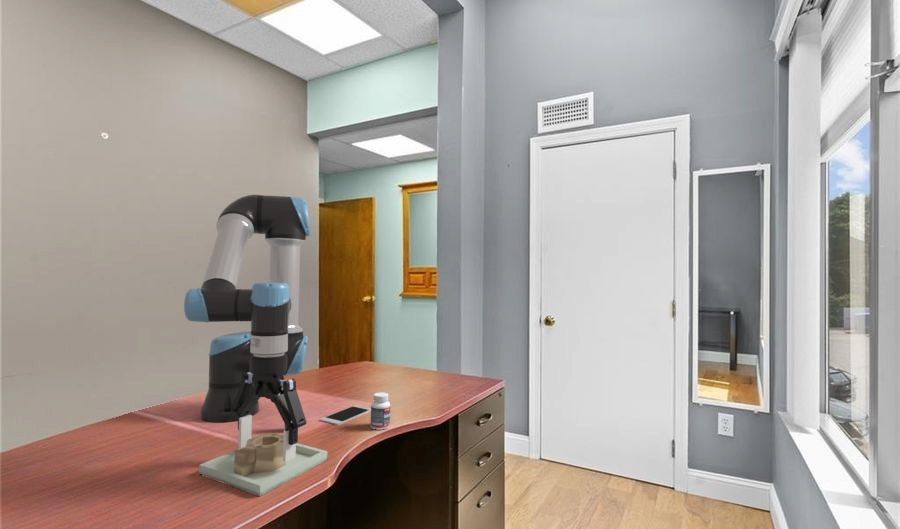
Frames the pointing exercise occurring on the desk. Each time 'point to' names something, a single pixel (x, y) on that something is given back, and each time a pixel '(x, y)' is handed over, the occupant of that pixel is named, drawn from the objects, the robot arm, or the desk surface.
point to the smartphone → (345, 415)
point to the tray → (267, 480)
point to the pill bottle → (380, 412)
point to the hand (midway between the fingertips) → (266, 452)
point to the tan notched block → (260, 455)
